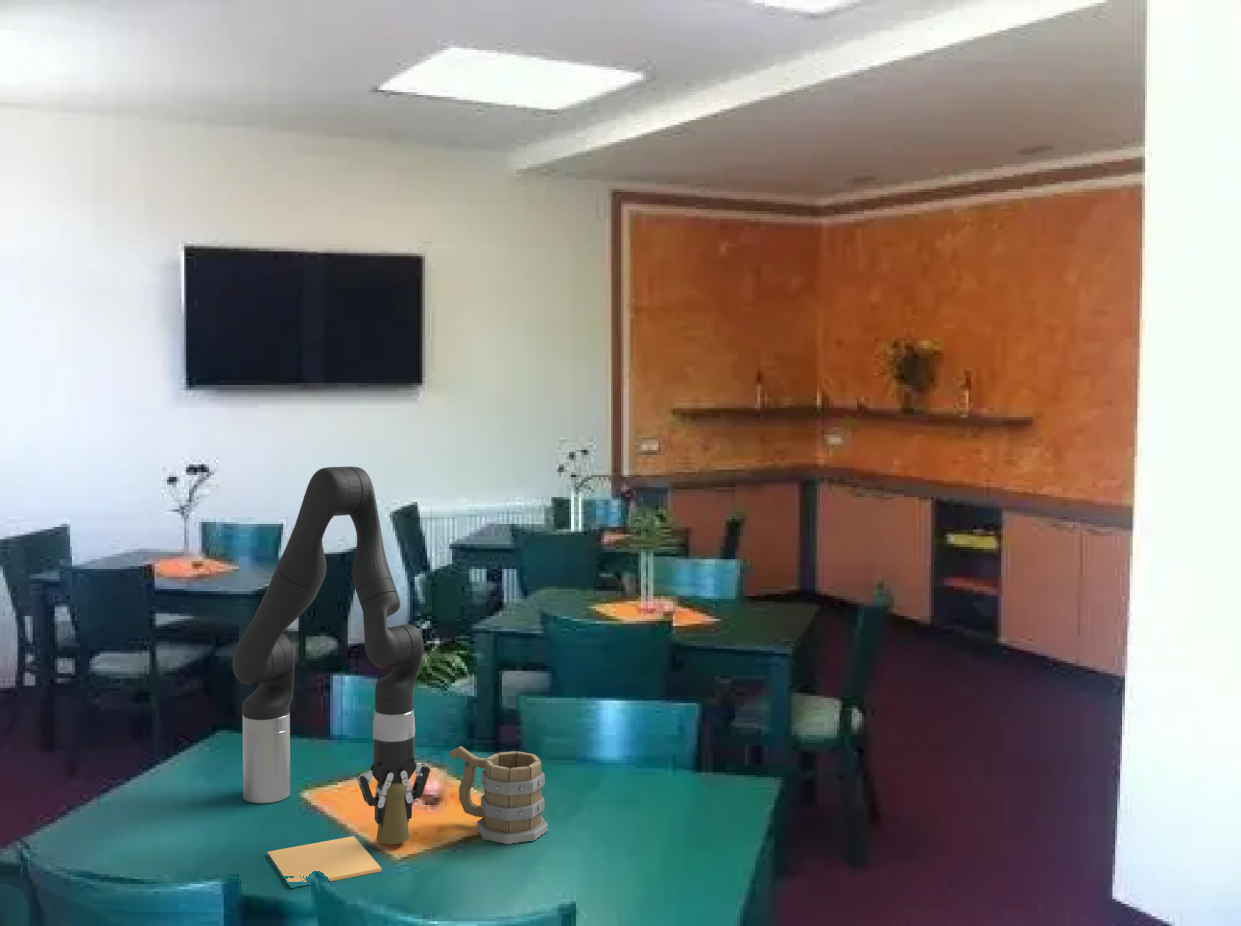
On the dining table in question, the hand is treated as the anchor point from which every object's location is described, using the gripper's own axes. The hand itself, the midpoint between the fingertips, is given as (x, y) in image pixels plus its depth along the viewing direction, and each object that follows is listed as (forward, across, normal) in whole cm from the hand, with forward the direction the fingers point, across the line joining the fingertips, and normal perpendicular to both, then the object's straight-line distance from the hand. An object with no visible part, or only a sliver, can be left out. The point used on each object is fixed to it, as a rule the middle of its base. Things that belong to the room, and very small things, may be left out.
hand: (393, 822), depth 232 cm
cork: (+3, 0, 0) cm, 3 cm away
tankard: (+4, -20, +1) cm, 21 cm away
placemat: (+4, +14, +3) cm, 15 cm away
